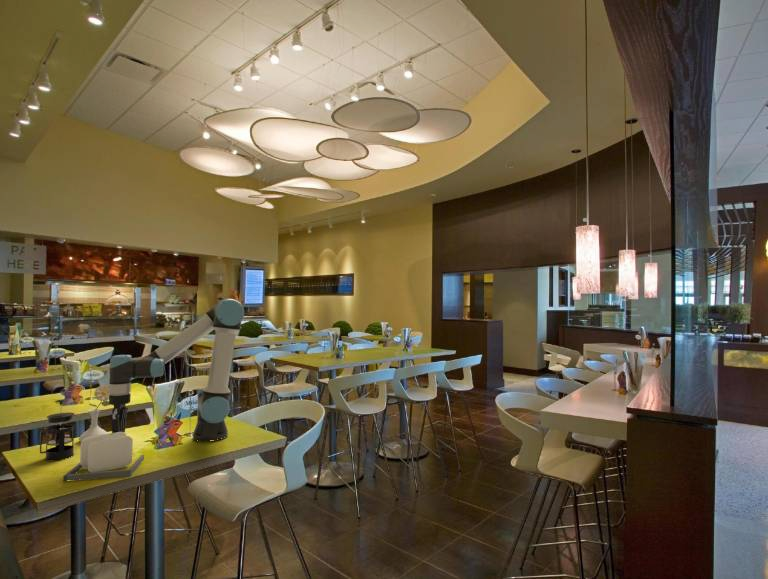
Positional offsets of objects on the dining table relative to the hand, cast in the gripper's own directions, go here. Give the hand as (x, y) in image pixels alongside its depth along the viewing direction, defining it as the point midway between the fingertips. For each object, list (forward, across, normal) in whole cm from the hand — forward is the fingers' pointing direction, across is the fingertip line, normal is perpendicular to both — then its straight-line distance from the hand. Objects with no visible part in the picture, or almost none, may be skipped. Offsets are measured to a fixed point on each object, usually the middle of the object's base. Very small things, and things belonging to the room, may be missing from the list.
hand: (118, 452), depth 177 cm
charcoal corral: (+2, +13, 0) cm, 13 cm away
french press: (+2, -6, -24) cm, 25 cm away
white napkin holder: (+2, +11, -1) cm, 11 cm away
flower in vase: (+3, -29, -18) cm, 34 cm away
